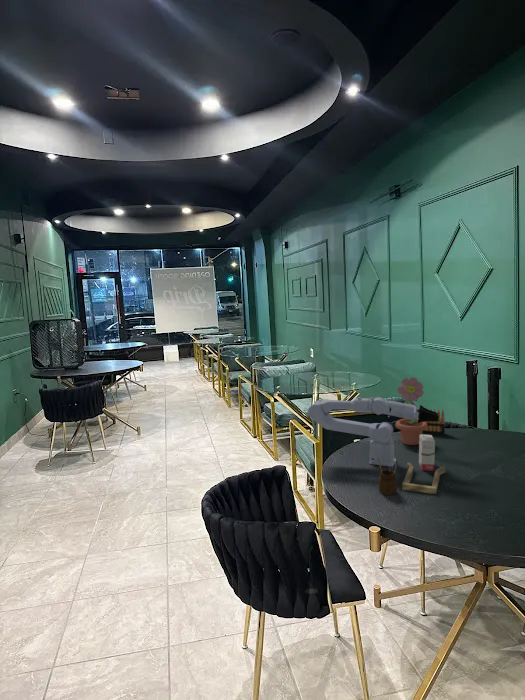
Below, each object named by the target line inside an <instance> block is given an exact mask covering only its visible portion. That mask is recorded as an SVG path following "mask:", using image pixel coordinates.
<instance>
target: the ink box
mask: <svg viewBox="0 0 525 700" xmlns="http://www.w3.org/2000/svg"><path fill="white" fill-rule="evenodd" d="M418 448H419V449H418V464H419V467H420V470H421V471H431V472H432V471H435V458H436V456H435V455H436V453H435V452H436V440H435V439H434V437H433V434H426V433H422V434H421V435H420V437H419V444H418Z"/></svg>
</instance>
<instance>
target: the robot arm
mask: <svg viewBox="0 0 525 700" xmlns="http://www.w3.org/2000/svg"><path fill="white" fill-rule="evenodd" d="M414 404H415V405H411V404H410V403H409V404H405V402H404V403H403V402H400V401H393V400H387V399H384V398H383V397H380V396H375V397H369V398H363V397H361V396H357V397H355V398H354V399H353V400H341V399H317V400H315V401H314V402H313V404H312V405H310V406H309V407H308V409H307V413H308V416H309V418H310V419H311V421H312V422H316V423H317V425H320V426H321V427H322V428H323V429H324V430H328V431H329V430H330V431H334V432H341V433H348V434H351V435H358V436H365V437H369V438H370V439H371V440H370V443H369V462H368V463H369V465H376V466H379V462H378V457H379V460H380V464H381V466H383V467H384V466H385V467H390V466H391V467H392V468H394V466H395V465H396V462H397V459H396V458H395V440H394V438H393V433H394V426H393V425H392V424H391V423H390V422H385V421H383V422H380V423H378V422H374V423H368V422H367V423H366V422H361V421H355V420H349V419H342V418H336V417H333V416H332V414H331V413H330V412H331V411H332V410H352V411H353V412H354V413H365V414H366V413H367V414H368V413H375V414H376V416H379V415H388V416H392V417H398V418H400V419H406V418H407V419H412V420H414V419H415V418H417V419H418V423H420V422H425V421H436V422H437V421H438V419H439V416H438V413H437V411H436V412H434V410H432V409H431V410H432V411H431V410H430V409H428V408H426V407H424V406H423V405H421V404H420V405H419V407H418V403H417V402H416V401H414ZM417 407H418V408H417ZM391 467H390V468H391Z"/></svg>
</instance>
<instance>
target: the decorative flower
mask: <svg viewBox="0 0 525 700" xmlns="http://www.w3.org/2000/svg"><path fill="white" fill-rule="evenodd" d="M423 389H424V386H423V383H422V382H419V381H418V378H416V377H412V376H411V377H409V378H408V377H405V378H403V379H402V380H401V385H400V386H397V388H396V390H397V393H398V394H399V395H401V398H402V399H403V400H405V401H404V403H405V404H410V405H415V402H416V401H418V399H419V398H422V397H423V395H424V394H425V391H424V390H423ZM394 426H395V428H396V429H398V430H399V431H400V437H401V438H400V440H401V443H402V444H404V445H407V446H419V437H420V435H421V434H423V433H422V431H423V430H425V429H427V423H426V422H420V423H418V418H415V419H414V420H412V419H407V418H400V419H399V420H397V421H396V422H395V425H394Z"/></svg>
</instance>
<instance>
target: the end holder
mask: <svg viewBox="0 0 525 700" xmlns="http://www.w3.org/2000/svg"><path fill="white" fill-rule="evenodd" d="M406 469H407V471H406V474H405V477H404V479H403V482H402V490H403V491H410V492H416V493H417V492H418V493H423V494H432V495H437V492H438V486H439V483H440V478H441V475H442V474H445V473H446V467H445V466H443V465H442V466H440V467H438V468H436V469H435V470H434V471H435V472H434V476H433V479H432V484H431V486H430V485H425V484H417V483H410V482H411V480H412V477H413V476H414V472H415V469H414V466H413V464H412V463H411V462H407V463H406Z"/></svg>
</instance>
